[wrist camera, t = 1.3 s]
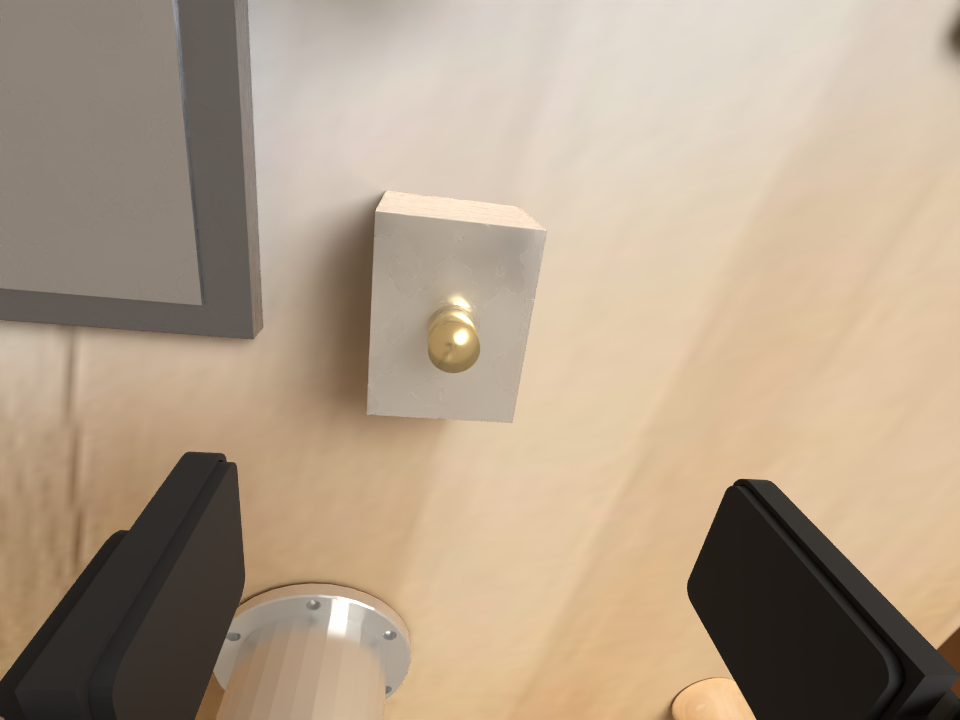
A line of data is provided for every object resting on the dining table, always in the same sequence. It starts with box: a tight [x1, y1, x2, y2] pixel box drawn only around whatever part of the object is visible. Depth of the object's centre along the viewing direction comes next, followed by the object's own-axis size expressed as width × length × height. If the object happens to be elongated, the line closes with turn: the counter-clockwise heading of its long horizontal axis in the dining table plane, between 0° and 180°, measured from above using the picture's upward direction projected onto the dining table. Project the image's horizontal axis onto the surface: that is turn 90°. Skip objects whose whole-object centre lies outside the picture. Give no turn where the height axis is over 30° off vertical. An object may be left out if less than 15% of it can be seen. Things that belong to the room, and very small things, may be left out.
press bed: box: [0, 0, 263, 339], centre depth 16 cm, size 23×15×7 cm, turn 172°
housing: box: [367, 191, 547, 423], centre depth 21 cm, size 8×6×8 cm
